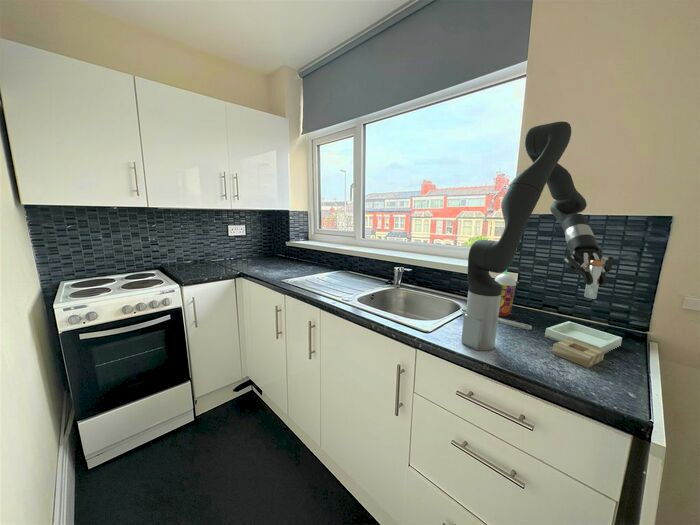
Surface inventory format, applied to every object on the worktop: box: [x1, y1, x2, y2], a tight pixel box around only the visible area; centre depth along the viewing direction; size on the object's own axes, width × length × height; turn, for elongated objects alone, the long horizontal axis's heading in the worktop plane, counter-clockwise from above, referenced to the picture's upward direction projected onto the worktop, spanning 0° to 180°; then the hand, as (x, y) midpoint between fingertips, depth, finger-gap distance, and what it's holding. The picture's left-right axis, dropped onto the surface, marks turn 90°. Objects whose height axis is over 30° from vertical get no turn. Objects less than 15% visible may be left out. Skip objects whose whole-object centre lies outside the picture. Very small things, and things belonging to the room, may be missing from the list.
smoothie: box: [494, 269, 517, 317], centre depth 115 cm, size 8×8×20 cm
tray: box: [544, 320, 623, 355], centre depth 93 cm, size 15×15×3 cm
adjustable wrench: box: [461, 308, 533, 331], centre depth 109 cm, size 25×6×2 cm, turn 46°
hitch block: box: [551, 338, 605, 369], centre depth 83 cm, size 9×9×3 cm
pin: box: [583, 260, 604, 300], centre depth 89 cm, size 3×3×12 cm
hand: (596, 283), depth 87 cm, fingers closed on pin, 3 cm apart
